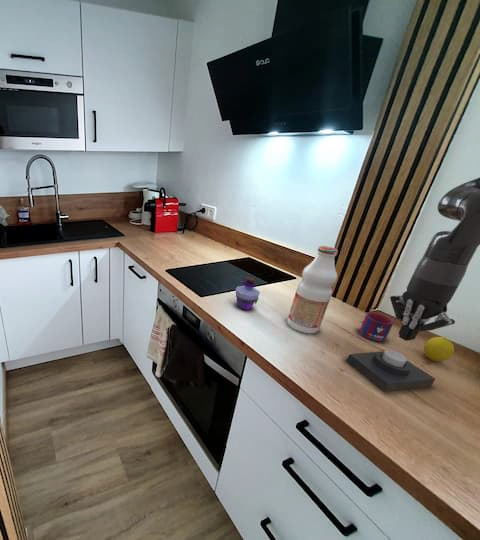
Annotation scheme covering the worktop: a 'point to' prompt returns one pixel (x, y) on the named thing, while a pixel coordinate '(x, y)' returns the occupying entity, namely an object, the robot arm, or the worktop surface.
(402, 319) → the robot arm
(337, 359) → the worktop surface
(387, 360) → the flush button
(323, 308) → the fruit juice
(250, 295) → the potion bottle
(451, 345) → the lemon
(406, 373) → the flush plate
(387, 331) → the mug
